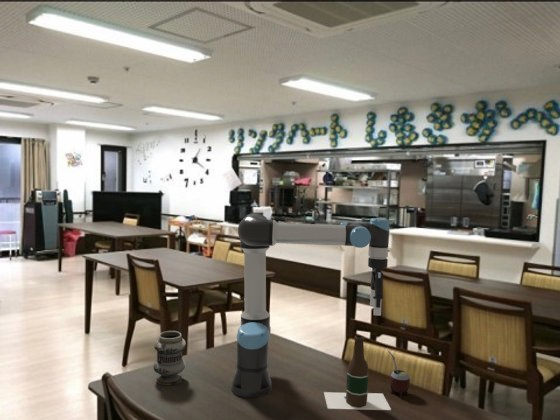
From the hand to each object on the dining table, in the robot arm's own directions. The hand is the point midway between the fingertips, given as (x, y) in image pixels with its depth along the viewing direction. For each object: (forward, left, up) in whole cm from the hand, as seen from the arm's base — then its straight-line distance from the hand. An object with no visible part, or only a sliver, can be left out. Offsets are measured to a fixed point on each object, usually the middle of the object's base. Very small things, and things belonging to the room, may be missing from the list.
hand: (375, 310), depth 181 cm
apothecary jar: (-80, -6, -28) cm, 85 cm away
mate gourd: (+7, -13, -28) cm, 31 cm away
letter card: (-10, -20, -28) cm, 35 cm away
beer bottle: (-10, -21, -28) cm, 36 cm away
